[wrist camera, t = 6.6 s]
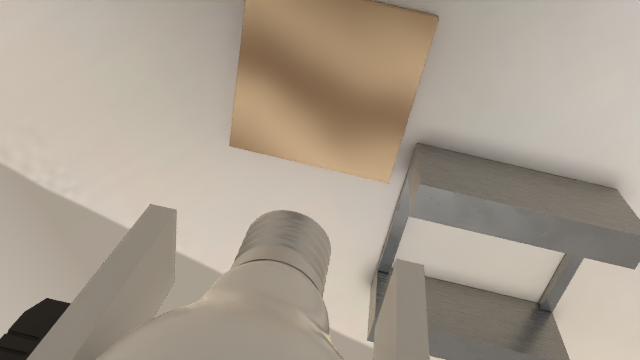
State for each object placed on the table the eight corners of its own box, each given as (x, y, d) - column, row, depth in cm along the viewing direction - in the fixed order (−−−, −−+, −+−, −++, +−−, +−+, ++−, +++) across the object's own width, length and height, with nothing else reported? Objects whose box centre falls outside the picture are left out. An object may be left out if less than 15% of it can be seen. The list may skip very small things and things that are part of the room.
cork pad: (251, -27, 26) (248, -26, 26) (437, 15, 26) (438, 18, 26) (232, 142, 31) (229, 146, 31) (388, 178, 31) (388, 183, 31)
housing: (417, 143, 30) (420, 184, 26) (616, 189, 30) (654, 239, 25) (370, 286, 36) (367, 340, 31) (537, 326, 35) (557, 386, 31)
